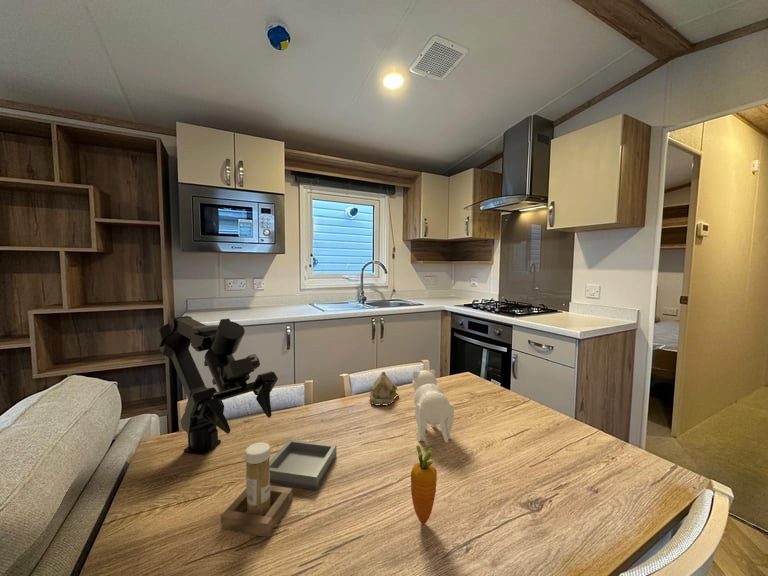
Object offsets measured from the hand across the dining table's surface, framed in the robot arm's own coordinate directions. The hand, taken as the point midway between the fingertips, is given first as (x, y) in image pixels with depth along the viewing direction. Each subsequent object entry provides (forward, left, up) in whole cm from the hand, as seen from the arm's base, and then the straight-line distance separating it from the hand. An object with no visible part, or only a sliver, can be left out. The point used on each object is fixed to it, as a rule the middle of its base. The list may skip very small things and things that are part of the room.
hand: (250, 424), depth 69 cm
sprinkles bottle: (+5, -6, -15) cm, 17 cm away
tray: (+7, +9, -15) cm, 19 cm away
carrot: (+37, -2, -15) cm, 40 cm away
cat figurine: (+37, +32, -15) cm, 51 cm away
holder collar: (+5, -6, -15) cm, 17 cm away
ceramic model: (+19, +54, -15) cm, 59 cm away
